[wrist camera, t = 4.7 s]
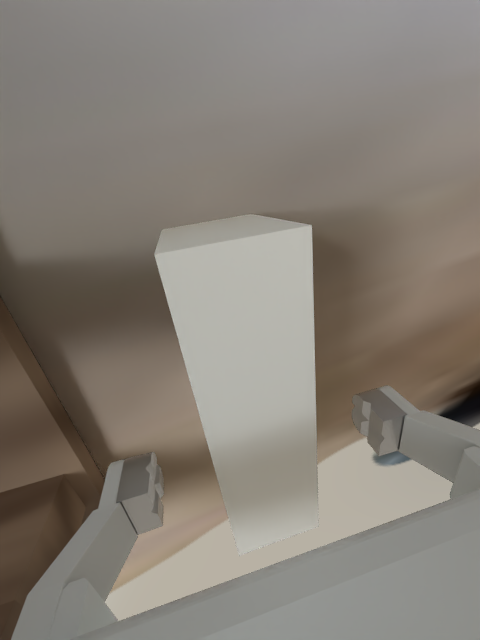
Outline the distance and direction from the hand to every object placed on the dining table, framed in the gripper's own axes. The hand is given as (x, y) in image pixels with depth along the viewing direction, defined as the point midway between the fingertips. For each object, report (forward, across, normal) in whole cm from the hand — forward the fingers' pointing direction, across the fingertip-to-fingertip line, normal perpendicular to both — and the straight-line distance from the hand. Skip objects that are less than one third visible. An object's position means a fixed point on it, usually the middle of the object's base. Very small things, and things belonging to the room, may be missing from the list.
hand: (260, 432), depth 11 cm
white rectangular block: (+5, 0, -1) cm, 5 cm away
